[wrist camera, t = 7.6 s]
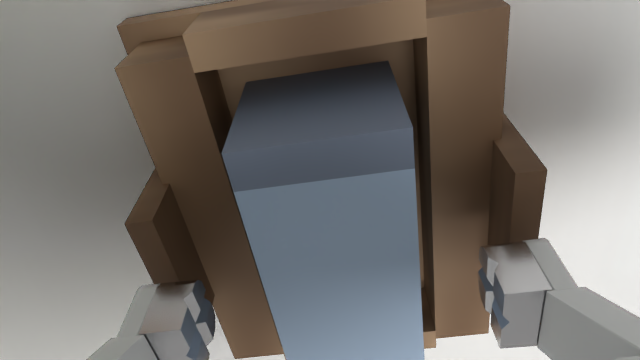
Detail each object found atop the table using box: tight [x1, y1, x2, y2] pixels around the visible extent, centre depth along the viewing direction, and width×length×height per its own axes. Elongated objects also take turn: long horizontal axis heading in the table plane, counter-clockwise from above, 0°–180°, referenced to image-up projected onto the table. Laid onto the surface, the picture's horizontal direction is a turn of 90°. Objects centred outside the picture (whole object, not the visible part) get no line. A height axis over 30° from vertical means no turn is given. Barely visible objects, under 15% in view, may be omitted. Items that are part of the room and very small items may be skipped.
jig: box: [114, 0, 547, 359], centre depth 14 cm, size 10×12×4 cm
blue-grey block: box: [221, 61, 424, 360], centre depth 13 cm, size 4×8×4 cm, turn 9°
